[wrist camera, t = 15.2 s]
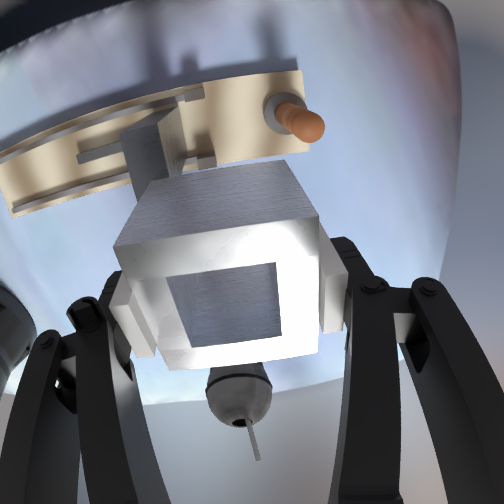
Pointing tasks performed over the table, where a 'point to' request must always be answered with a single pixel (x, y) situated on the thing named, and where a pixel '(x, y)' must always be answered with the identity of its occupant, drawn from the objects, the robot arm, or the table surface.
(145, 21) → the table surface
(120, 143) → the grey l-shaped block
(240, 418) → the beverage cup
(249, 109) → the board
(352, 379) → the robot arm
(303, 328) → the link
